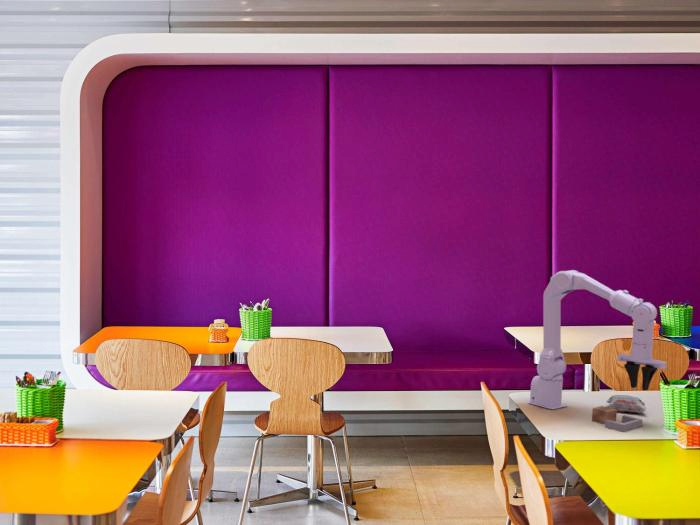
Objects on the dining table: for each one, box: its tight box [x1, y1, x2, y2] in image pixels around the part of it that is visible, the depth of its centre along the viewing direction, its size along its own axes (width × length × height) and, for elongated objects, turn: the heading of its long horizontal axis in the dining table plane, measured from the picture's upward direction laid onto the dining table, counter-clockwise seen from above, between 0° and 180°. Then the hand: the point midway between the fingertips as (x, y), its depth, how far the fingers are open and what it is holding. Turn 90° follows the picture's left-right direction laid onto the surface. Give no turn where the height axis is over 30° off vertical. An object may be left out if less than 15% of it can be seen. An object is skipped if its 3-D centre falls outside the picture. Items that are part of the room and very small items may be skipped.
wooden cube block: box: [591, 405, 618, 425], centre depth 229 cm, size 5×5×4 cm
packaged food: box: [605, 394, 647, 414], centre depth 242 cm, size 9×12×5 cm
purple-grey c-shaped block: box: [604, 414, 644, 433], centre depth 224 cm, size 6×10×2 cm, turn 130°
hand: (639, 388), depth 228 cm, fingers open, 3 cm apart
